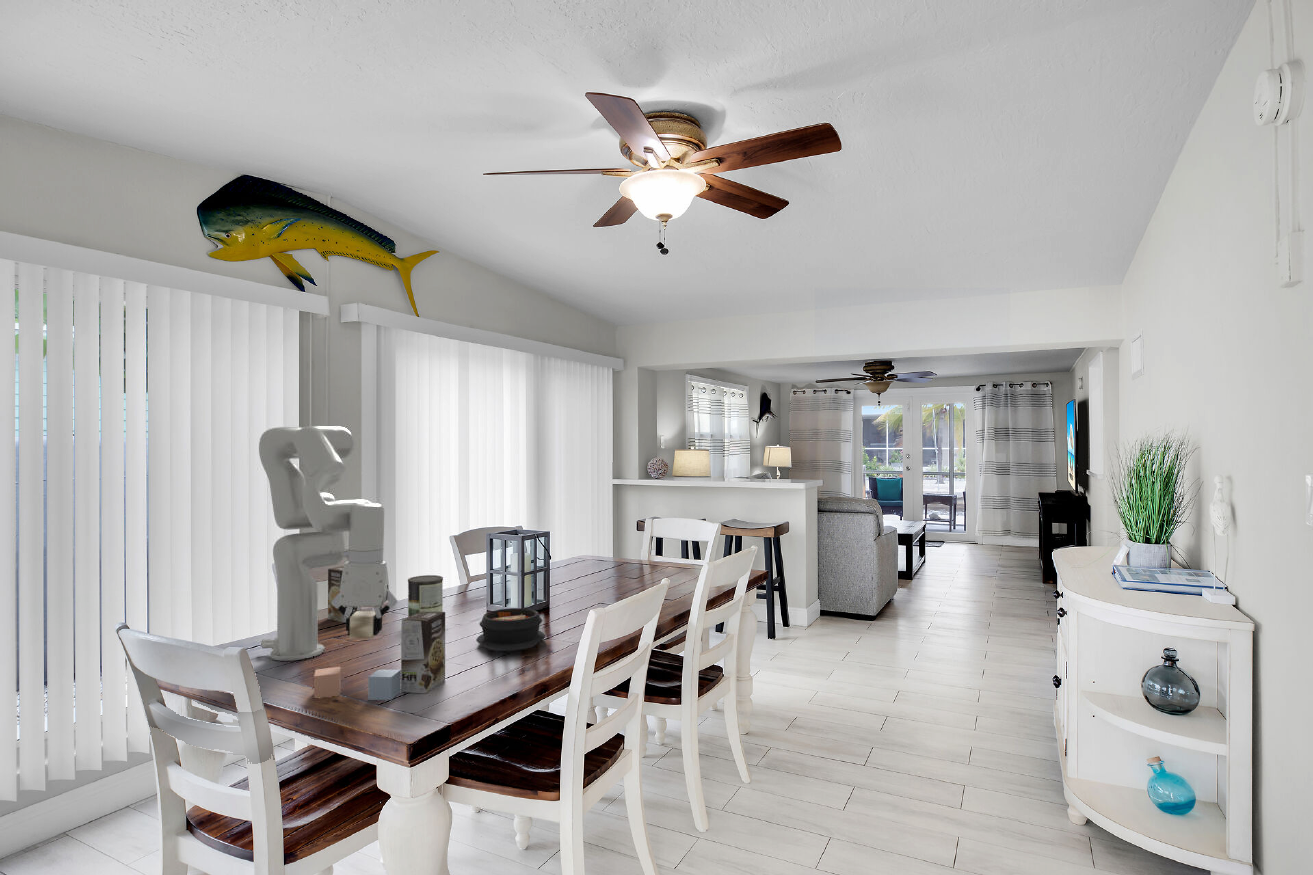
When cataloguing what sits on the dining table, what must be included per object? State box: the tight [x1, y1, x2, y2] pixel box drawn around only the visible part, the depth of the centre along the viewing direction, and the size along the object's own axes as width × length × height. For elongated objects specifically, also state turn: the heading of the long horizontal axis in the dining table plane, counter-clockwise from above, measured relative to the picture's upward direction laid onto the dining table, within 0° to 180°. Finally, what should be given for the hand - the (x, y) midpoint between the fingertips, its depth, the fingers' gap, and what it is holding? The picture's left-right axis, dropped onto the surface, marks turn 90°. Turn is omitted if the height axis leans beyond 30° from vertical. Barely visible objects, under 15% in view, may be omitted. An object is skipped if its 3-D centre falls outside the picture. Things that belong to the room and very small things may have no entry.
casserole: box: [475, 607, 546, 652], centre depth 193 cm, size 25×19×8 cm
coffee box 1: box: [327, 565, 362, 624], centre depth 223 cm, size 9×6×16 cm
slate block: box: [367, 669, 401, 701], centre depth 154 cm, size 5×5×5 cm
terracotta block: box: [313, 666, 341, 699], centre depth 155 cm, size 5×5×5 cm
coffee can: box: [407, 574, 444, 617], centre depth 216 cm, size 10×10×14 cm
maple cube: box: [348, 610, 376, 640], centre depth 165 cm, size 5×5×5 cm
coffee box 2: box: [400, 611, 446, 695], centre depth 160 cm, size 9×6×16 cm
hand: (363, 632), depth 165 cm, fingers closed on maple cube, 5 cm apart
